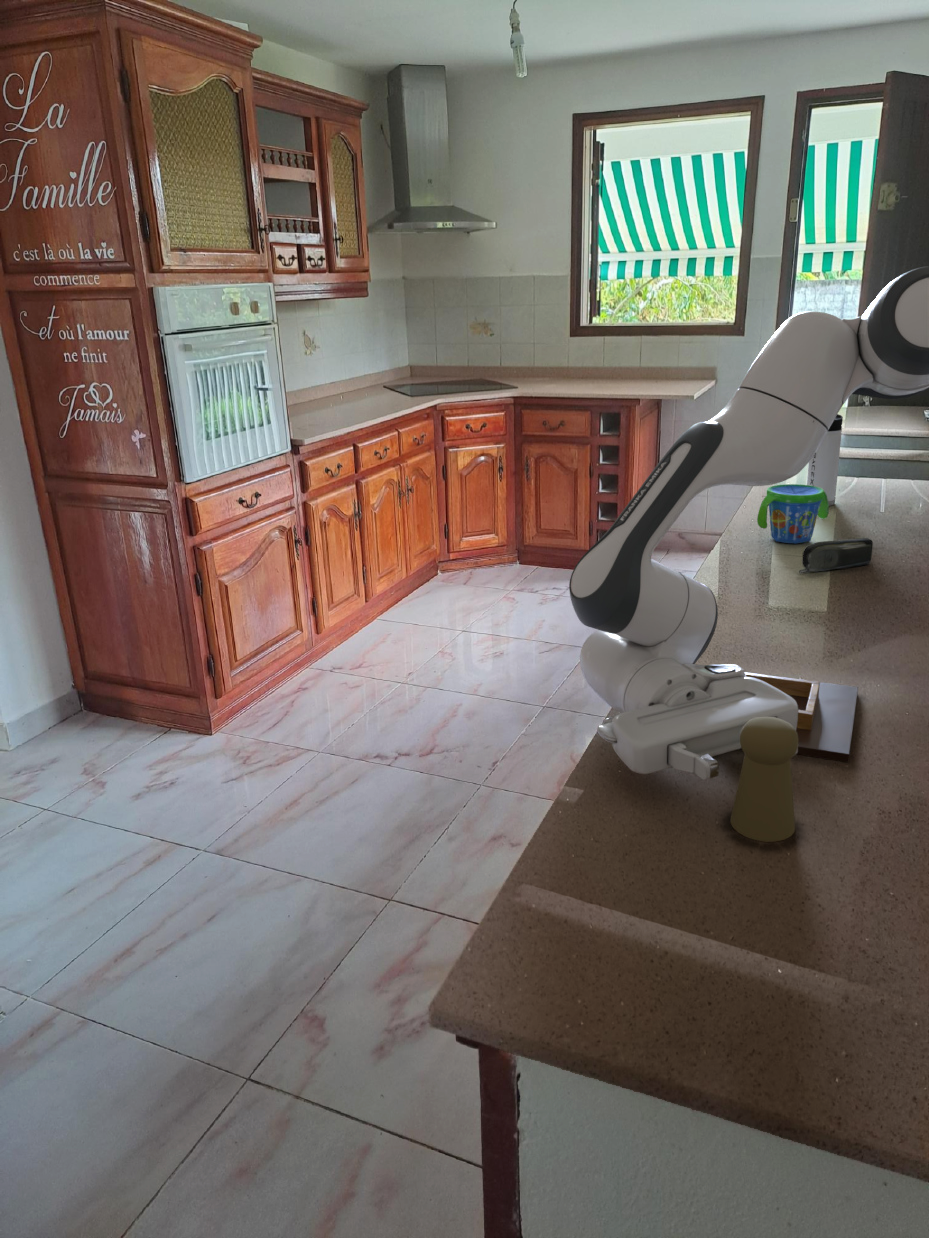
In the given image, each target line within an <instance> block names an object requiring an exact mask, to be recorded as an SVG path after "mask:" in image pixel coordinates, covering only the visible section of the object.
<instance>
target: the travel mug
mask: <svg viewBox="0 0 929 1238" xmlns="http://www.w3.org/2000/svg"><path fill="white" fill-rule="evenodd" d="M843 419H844V417H843V416H842V415H841V414H839V413H838V414H837V416H836V417H835V419H834V421H833V423H832V425H831V426H830V428H829V430H828V431H827V433H826V435H825V437H824V439H823V440H822V442H821V444H820V446H819V448H818V449H817V451H816V453H815V454H814V456H813V457H812V459H811V460H810V461H809V462H808V464H807V465H808V466H807V476H806V477H807V479H806V485H810V486H815V487H819V488H822V489H823V490H824V492H825V493H826V495H827V499H828V507H830V506H833V505H835V503H836V495H837V484H838V476H839V475H838V474H839V464H840V463H839V462H840V455H841V453H840V452H841V446H842V445H841V442H842V434H843V433H842V431H843V426H842V425H843ZM820 504H821V503H820ZM819 507H820V505H819Z"/></svg>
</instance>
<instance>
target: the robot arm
mask: <svg viewBox="0 0 929 1238" xmlns="http://www.w3.org/2000/svg"><path fill="white" fill-rule="evenodd" d="M928 389H929V265H927V266H922V267H917V268H914V269H911V270H909V271H906V272H905V273H902V274H900V275H898V276H897V277H896V278H894V279H892V281H890V282H889V283H888V284H887V285H886V286H885V287H883V288H882V290H881V291H880V292H879V293H878V294H877V296H876V298H875V299H874V300H873V301H872V302H871V303H870V304H869V306H868V307H867V309H866V310H865V311H864V313H863V314H862V315H861V316H857V317H855V318H850V319H848V318H840V317H838V316H836V315H834V314H831V313H829V312H823V311H816V310H815V311H803V312H798V313H796V314H793V315H792V316H790V317H789V318H787V319H786V320H785V321H784V322H783V323H782V324H781V325H780V327H779V328H778V329H777V330H776V331H775V332H774V334H773V335H772V336H771V337H770V339H769V340H768V341H767V343H766V344H765V345H764V347H763V348H762V349H761V351H760V352H759V354H758V355H757V357H756V358H755V359H754V361H753V362H752V364H751V365H750V367H749V369H748V370H747V372H746V373H745V375H744V377H742V380H741V382H740V384H739V385H738V387H737V389H736V390H735V392H734V394H733V396H732V397H731V398H730V399H729V401H728V402H727V404H726V405H725V406H724V407H723V408H722V409H721V410H720V411H719V412H718V413H717V414H715V416H713V417H712V418H711V419H709V420H708V421H700V422H697V423H695V424H693V425H692V426H690V427H689V428H688V429H687V430H685V431H684V432H683V433H682V434H681V435H680V436H679V438H677V440H676V441H675V442H674V443H673V445H671V447H670V448H669V449H668V451H666V453H665V454H664V456H663V457H662V458H661V459H660V461H659V462H658V463H657V464H656V466H654V468H653V470H651V472H650V474H649V475H648V476H647V478H646V479H645V480H644V482H643V483H642V484H641V485H640V487H639V488H638V490H637V491H636V493H635V494H634V495H633V496H632V497H631V499H630V501H629V502H628V503H627V504H626V506H625V507H624V508H623V510H622V511H621V512H620V514H619V515H618V517H617V518H616V519H615V521H613V523H612V524H611V526H610V527H609V529H607V531H606V532H605V533H604V534H603V535H602V536H601V538H599V539H598V540H597V541H596V542H595V543H594V544H593V545H592V546H591V547H590V548H588V550H587V551H586V552H585V553H584V554H583V555H582V557H581V558H580V559H579V561H577V563H576V565H575V566H574V568H573V570H572V573H571V575H570V578H569V583H568V586H569V587H568V589H569V591H568V592H569V597H570V601H571V605H572V608H573V610H574V612H575V616H576V617H577V618H578V621H580V623H581V624H582V625H584V626H586V627H588V628H591V629H595V631H593V632H591V634H590V635H589V636H588V637H587V638H586V639H585V640H584V642H583V643H582V646H581V649H580V652H579V665H580V670H581V673H582V676H583V679H584V680H585V682H586V684H587V685H588V686H589V687H590V688H591V689H592V691H593V692H594V693H595V694H596V695H597V696H598V697H599V698H600V699H601V700H602V701H603V702H605V703H606V704H607V705H608V706H609V707H611V708H612V709H613V710H614V711H616V712H618V714H615V715H614V716H609V717H606V718H604V719H603V720H602V722H601V723H600V724H599V725H597V727H596V731H597V733H598V735H599V736H600V737H601V738H602V739H603V740H604V741H606V742H608V743H611V745H612V748H613V750H614V752H615V753H616V755H617V756H618V757H619V759H620V760H621V761H622V762H623V763H624V765H625V766H626V767H627V768H628V769H629V770H630V771H631V772H633V773H637V774H641V775H648V774H652V773H656V772H659V771H663V770H667V769H670V768H672V769H674V770H677V771H680V772H685V773H690V774H695V775H696V776H697V777H699V778H700V779H702V781H706V780H710V779H713V778H716V777H718V776H719V771H718V770H719V766H720V765H719V762H718V761H717V759H715V758H713V757H715V756H718V755H722V754H725V753H729V752H734V751H736V750H740V749H741V750H742V748H741V744H740V734H741V730H742V727H743V726H744V725H745V724H746V723H747V722H748V721H749V720H751V719H753V718H757V717H775V718H779V719H782V720H784V721H786V722H788V723H790V724H791V725H792V726H793V727H794V729H795V730H796V729H797V722H798V705H797V702H796V701H795V700H794V699H793V698H792V697H790V696H789V695H787V694H786V693H784V692H782V691H781V690H779V689H777V688H775V687H774V686H772V685H770V684H768V683H766V682H764V681H762V680H759V679H756V678H753V677H745V672H746V671H745V669H744V668H743V667H742V666H740V665H737V664H733V663H732V664H731V663H730V664H729V663H728V664H727V663H726V664H697V662H698V661H699V659H700V658H701V657H702V655H703V654H704V652H706V650H707V648H708V647H709V645H710V643H711V641H712V639H713V637H714V634H715V632H716V628H717V626H718V625H717V624H718V620H719V618H718V617H719V610H718V605H717V604H718V603H717V600H716V597H715V593H714V592H713V591H712V590H711V588H710V587H709V586H707V585H706V584H704V583H701V582H700V581H698V580H697V579H694V578H692V577H691V576H689V575H687V574H684V573H682V572H680V571H677V570H675V569H673V568H671V567H668V566H666V565H664V564H663V563H661V562H658V561H657V560H655V559H653V558H652V555H653V552H654V550H655V549H656V548H657V547H658V545H659V543H660V542H661V541H662V540H663V538H664V537H665V535H666V534H667V533H668V532H669V530H670V529H671V528H672V526H673V525H674V524H675V522H676V521H677V520H678V518H679V517H680V515H682V513H683V512H684V510H685V509H686V508H687V507H688V505H689V504H690V502H691V501H693V499H694V498H695V497H696V496H698V495H699V494H701V493H702V492H704V491H705V490H708V489H710V488H713V487H718V486H730V485H731V486H743V487H744V486H745V487H765V486H771V485H772V486H773V485H777V484H780V483H782V482H785V481H788V480H789V479H792V478H793V477H795V476H797V475H798V474H799V473H800V472H802V471H803V470H804V468H805V467H806V466H807V465H808V464H809V461H810V460H811V459H812V457H813V456H814V454H815V453H816V451H817V449H818V448H819V446H820V444H821V442H822V440H823V439H824V437H825V435H826V433H827V431H828V430H829V428H830V426H831V425H832V423H833V421H834V419H835V417H836V416H837V414H839V413H840V410H841V409H842V407H843V406H844V404H845V403H846V402H847V401H848V399H849V398H850V397H851V395H857V396H865V397H871V398H877V399H883V400H884V399H885V400H901V399H907V398H912V397H915V396H917V395H919V394H921V393H923V392H925V391H926V390H928ZM797 752H798V748H797V751H796V753H795V755H794V756H796V755H798V754H797Z"/></svg>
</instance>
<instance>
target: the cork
mask: <svg viewBox="0 0 929 1238" xmlns="http://www.w3.org/2000/svg"><path fill="white" fill-rule="evenodd" d="M740 744H741V750H742V752H743V753H744V757H743V761H742V764H741V770H740V775H739V777H738V783H737V788H736V793H735V796H734V801H733V806H732V810H731V815H730V821H729V822H730V824H731V826H732V828H733V829H734V830H735V831H736V832H737V833H738V834H740V835H742V836H743V837H745V838H747V839H751V840H755V841H759V842H764V843H765V842H766V843H769V842H770V843H772V842H775V843H776V842H780V841H784V840H785V841H786V840H787V839H789V838H791V837H792V836H793V834H794V833H795V832H796V819H795V803H794V791H793V790H794V789H793V774H792V762H791V761H792V759H793V757H794V756H796V755H795V753H796V751H797V748H798V735H797V732H796V730H795V729H794V727H793V726H792V725H791V724H790V723H788V722H786V721H784V720H782V719H779V718H775V717H757V718H753V719H751V720H749V721H748V722H747V723H746V724H745V725H744V726H743V727H742V730H741V734H740Z"/></svg>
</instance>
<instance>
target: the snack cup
mask: <svg viewBox="0 0 929 1238" xmlns="http://www.w3.org/2000/svg"><path fill="white" fill-rule="evenodd" d="M820 503H821V504H820ZM819 505H820V506H819ZM829 508H830V506H828V499H827V495H826V493H825V492H824V490H823V489H822V488H819V487H815V486H810V485H807V484H796V483H795V484H794V483H792V484H791V483H787V484H774V485H772V486H771V485H770V486H769V487H768V488H766V495H765V497H764V498H763V499H762V501H761V504H760V506H759V510H758V513H757V519H756V520H757V521H756V522H757V525H758V526H759V528H761V529H764V530H765V529H767V528H768V521H767V520H768V514H769V527H770V535H771V538H772V539H773V540H774V541H775V542H778V543H783V544H794V545H797V544H804V543H806V542H811V540H812V537H813V535H814V531H815V527H816V524H817V519H818V518H819V519H821V520H825V519H827V518H828V516H829V510H830V509H829ZM768 512H769V513H768Z"/></svg>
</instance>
